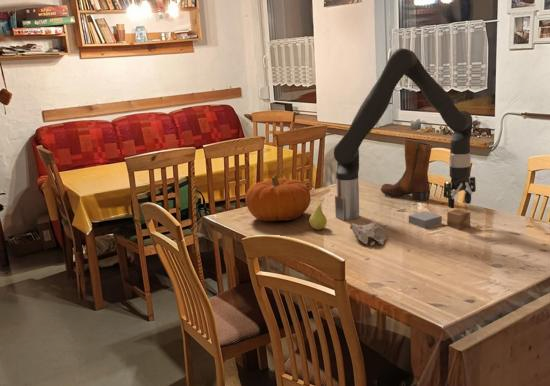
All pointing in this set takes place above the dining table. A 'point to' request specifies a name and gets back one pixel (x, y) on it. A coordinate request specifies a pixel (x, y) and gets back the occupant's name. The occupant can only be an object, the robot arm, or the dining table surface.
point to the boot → (413, 173)
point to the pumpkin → (278, 199)
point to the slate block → (425, 219)
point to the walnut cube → (458, 219)
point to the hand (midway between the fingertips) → (459, 205)
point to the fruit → (318, 218)
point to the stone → (369, 232)
